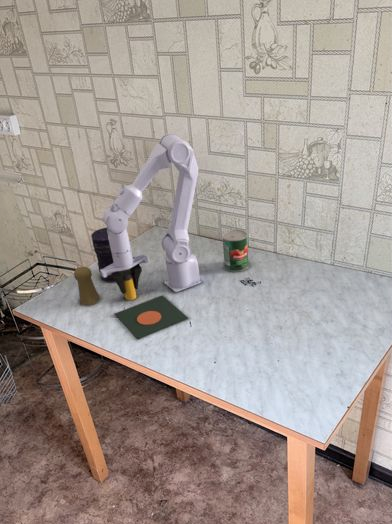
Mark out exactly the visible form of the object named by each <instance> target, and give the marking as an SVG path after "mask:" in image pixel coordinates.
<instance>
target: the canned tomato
mask: <svg viewBox="0 0 392 524" xmlns="http://www.w3.org/2000/svg"><path fill="white" fill-rule="evenodd" d="M221 238H222V250H223V265H224V269H225V270H226V271H228V272H231V273H238V272H243V271H245V270H247V269H248V268H249V266H250V265H249V248H248V247H249V245H248V233H247V232H246V231H244V230H241V229H232V230H228V231H225V232H223V234H222V235H221Z"/></svg>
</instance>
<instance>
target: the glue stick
mask: <svg viewBox="0 0 392 524" xmlns="http://www.w3.org/2000/svg"><path fill="white" fill-rule="evenodd" d="M121 275H122V276H123V284H124V288H125V294H124V298H125V300H126V301H133V300H135V299H136V298H137V293H136V289H135V287H134V282H133V276H132V272H131V271H130V270H125V271H122V272H121Z"/></svg>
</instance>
